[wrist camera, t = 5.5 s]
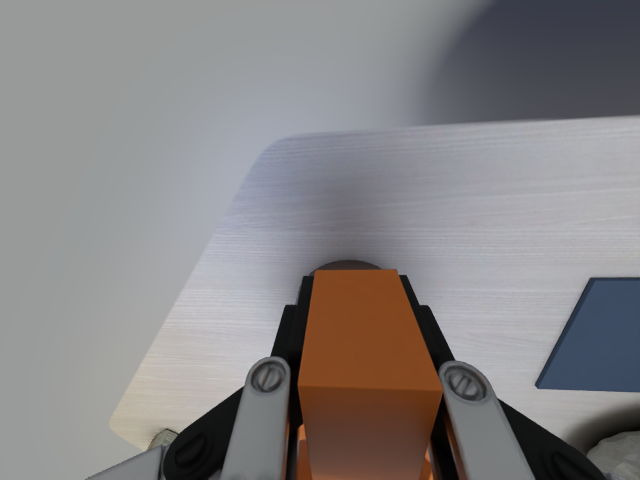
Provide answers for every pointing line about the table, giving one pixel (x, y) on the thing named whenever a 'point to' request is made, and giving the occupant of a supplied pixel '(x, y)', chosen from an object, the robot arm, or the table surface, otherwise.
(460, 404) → the robot arm
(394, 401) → the ring
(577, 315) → the mat
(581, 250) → the table surface
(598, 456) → the grey round stone
